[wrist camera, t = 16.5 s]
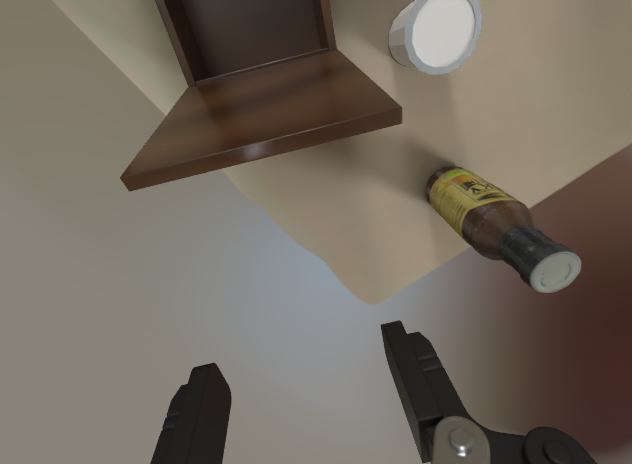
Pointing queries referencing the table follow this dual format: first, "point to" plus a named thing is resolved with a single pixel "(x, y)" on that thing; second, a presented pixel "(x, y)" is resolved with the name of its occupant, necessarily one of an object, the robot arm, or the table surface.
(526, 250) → the sauce bottle
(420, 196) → the table surface
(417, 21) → the shot glass
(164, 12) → the chest
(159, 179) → the chest lid
